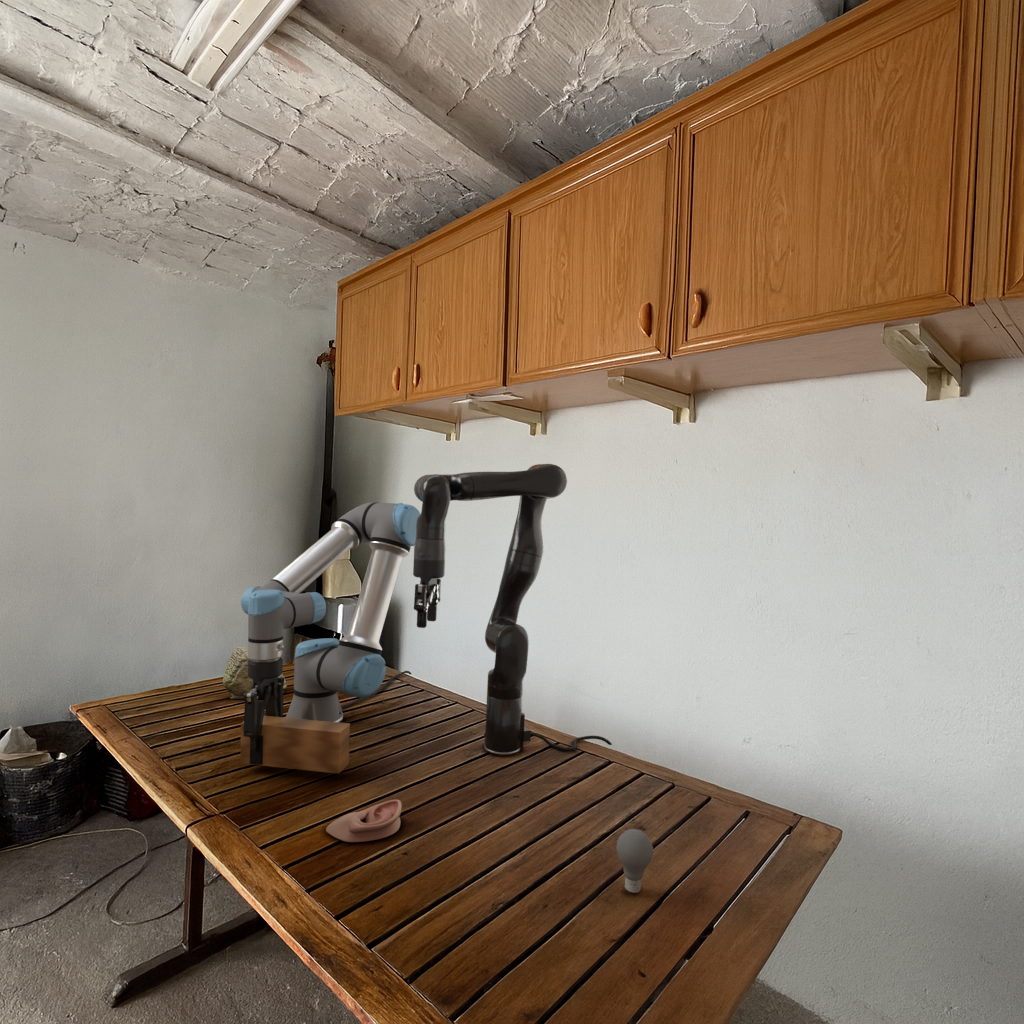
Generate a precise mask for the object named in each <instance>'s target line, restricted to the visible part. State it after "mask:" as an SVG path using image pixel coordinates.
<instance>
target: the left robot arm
mask: <svg viewBox="0 0 1024 1024" xmlns="http://www.w3.org/2000/svg"><path fill="white" fill-rule="evenodd" d="M420 514H421V512H420V510H418V508H417V507H416V506H414V505H411V504H407V503H403V502H398V503H393V502H378V501H376V502H375V501H372V502H366V503H362V504H361V505H358V506H356V507H354V508H353V509H351V510H350V511H347V512H346V513H345V514H343V515H342V516H340V517H339V518H338V519H337V520H336V521H334V522H333V523H332V524H331V527H330V528H331V529H330V530H329V531H328V532H326V533H325V534H324V535H323V536H322V537H320V538H319V539H318V540H317V541H316V542H314V543H313V544H312V545H311V546H310V547H309V548H307V549H306V550H304V552H302V553H301V554H300V555H298V557H297V558H295V559H294V560H293V561H292V562H290V563H289V564H288V565H286V566H285V567H284V568H283V569H281V571H279V573H277V574H275V576H274V577H272V578H270V580H269V581H268V582H266V583H265V584H264V585H262V586H259V585H258V586H252V587H248V588H247V589H246V590H245V591H244V592H243V594H242V596H241V599H240V606H241V609H242V611H243V612H244V614H246V615H247V648H248V658H249V661H248V670H247V674H248V676H249V677H250V678H251V679H252V680H253V682H252V686H251V691H250V692H249V693H244V698H243V701H244V702H243V703H244V714H243V721H244V734H243V735H244V736H245V737H250V764H249V765H252V764H256V765H255V766H262V765H261V764H263V735H261V730H262V723H263V717H264V716H274V717H284V692H283V685H284V677H285V676H284V677H278V676H280V675H281V674H282V675H283V669H284V667H283V665H284V659H283V658H282V656H283V653H284V648H285V645H284V633H285V631H284V630H287V629H290V628H295V627H300V626H306V625H312V624H314V623H318V622H320V621H322V620H323V618H324V617H325V616H326V613H327V612H326V611H327V604H326V600H325V598H324V596H323V595H322V594H321V593H319V592H316V591H312V592H311V591H310V592H309V591H306V592H305V593H303V591H304V590H306V588H307V587H308V586H310V585H311V584H312V583H313V582H314V581H315V580H316V579H317V578H319V577H320V576H321V575H322V574H323V573H324V572H325V571H326V570H328V569H329V568H330V567H331V566H332V565H334V563H336V562H337V561H338V560H339V559H340V558H342V557H343V556H344V555H345V554H346V553H347V552H348V551H349V550H355V549H357V548H358V547H359V546H360V545H362V544H365V543H368V545H369V547H370V549H371V554H370V557H369V560H368V564H367V568H366V570H365V574H364V578H363V581H362V584H361V587H360V591H359V595H358V598H357V601H356V604H355V608H354V612H353V614H352V619H351V622H350V625H349V629H348V632H347V634H346V635H345V636H343V637H342V638H340V639H338V638H335V637H333V638H332V637H329V638H313V639H308V640H304V641H302V642H299V643H298V644H297V645H296V646H295V652H294V653H295V654H294V657H293V659H294V660H293V662H294V663H293V665H294V667H293V695H292V696H293V697H292V699H291V702H290V704H289V708H288V711H287V713H286V715H285V718H296V719H307V720H317V721H328V722H339V723H344V713H343V709H344V708H346V707H349V706H353V705H354V704H356V703H359V702H361V701H364V700H367V699H369V698H371V697H373V696H375V695H377V694H379V693H380V692H381V691H382V690H384V689H385V688H386V687H387V686H388V685H389V684H390V683H391V682H392V681H393V680H395V679H396V678H398V677H400V676H402V675H405V674H408V675H412V672H411V671H409V670H404V671H401V672H400V673H401V674H400V673H397V674H395V675H394V676H392V677H390V678H389V680H387V681H386V682H385V683H384V684H383V685H382V683H383V681H384V679H385V675H386V672H387V666H386V661H385V659H384V657H382V653H383V647H382V645H381V644H380V639H381V636H382V631H383V628H384V625H385V621H386V618H387V614H388V611H389V606H390V603H391V600H392V596H393V593H394V588H395V585H396V581H397V578H398V574H399V571H400V567H401V563H402V560H403V559H404V558H405V557H407V556H409V555H410V552H411V547H414V546H415V540H416V522H417V518H418V516H419V515H420ZM381 685H382V686H381ZM380 686H381V687H380ZM338 694H342V695H345V696H347V697H352V698H357V699H355V700H353V701H350V702H348V703H346V704H345V703H344V704H341V702H340V699H339V695H338ZM342 708H343V709H342Z"/></svg>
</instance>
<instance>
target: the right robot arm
mask: <svg viewBox="0 0 1024 1024" xmlns="http://www.w3.org/2000/svg"><path fill="white" fill-rule="evenodd" d="M567 486H568V476H567V474H566V472H565V470H564V469H563V468H562V467H560V466H559V465H557V464H554V463H540V464H539V463H537V464H533V465H531V466H529V468H528V469H527V470H518V471H468V472H460V473H454V474H438V473H435V474H424V475H422V476H421V477H419V478H417V480H416V481H415V483H414V486H413V491H414V495H415V497H416V498H417V499H418V501H420V502H422V503H421V505H422V506H421V512H420V515H419V516H418V518H417V522H416V540H415V545H414V546H413V569H412V570H413V571H412V575H413V576H414V577H415V578H419V579H420V581H419V583H415V585H414V598H413V599H414V601H413V610H414V611H416V627H417V628H419V629H425V628H427V626H428V622H436V621H437V617H438V616H437V614H438V612H437V611H438V605H439V603H440V602H441V586H442V585H441V583H442V578H444V577H445V574H446V573H445V571H446V551H447V550H446V521H447V517H448V514H449V508H450V504H451V501H459V502H471V501H483V500H493V499H499V498H500V499H501V498H507V497H519V503H518V509H517V510H518V511H517V515H516V518H515V523H514V526H513V531H512V535H511V539H510V543H509V546H508V550H507V554H506V558H505V563H504V568H503V572H502V576H501V580H500V584H499V588H498V593H497V596H496V599H495V602H494V606H493V608H492V611H491V614H490V616H489V620H488V622H487V626H486V629H485V633H484V641H485V645H486V647H487V648H488V649H489V651H491V652H493V653H494V654H495V658H494V667H493V668H491V669H490V670H488V672H487V682H486V683H487V684H486V707H485V708H486V710H485V730H484V733H483V738H484V744H483V749H484V751H485V752H487V753H488V754H491V755H494V756H500V757H501V756H513V755H516V754H519V753H520V752H522V751H524V747H525V745H524V744H525V743H527V742H531V738H532V737H536V738H538V739H541V740H542V741H543V742H545V744H547V745H548V746H550V747H552V748H554V749H556V750H559V751H564V752H572V751H575V750H576V749H577V747H578V746H577V742H580V741H585V740H599V741H602V742H604V743H606V744H607V745H608V746H613V743H612V742H611V741H610V740H609V739H608V738H605V737H603V736H600V735H583V736H579V737H576V738H573V740H572V746H571V747H565V746H561V745H557V744H555V743H553V742H551V741H550V740H549V739H548V738H546V737H545V736H544V735H542V734H539V733H536V732H532V731H531V729H530V728H528V727H527V726H525V725H526V724H525V723H526V722H525V721H526V715H525V712H523V697H524V696H523V693H524V678H525V676H526V674H527V671H528V662H529V661H528V660H529V651H530V650H529V649H530V638H529V633H528V631H527V629H526V628H525V627H524V626H523V625H521V624H519V623H518V619H519V614H520V610H521V605H522V604H523V601H524V599H525V597H526V595H528V593H529V592H530V590H531V588H532V587H533V585H534V584H535V582H536V580H537V578H538V576H539V573H540V570H541V566H542V562H543V557H544V552H545V539H544V533H543V523H542V522H543V514H544V511H545V506H546V503H547V500H552V499H556V498H558V497H559V496H561V495H562V494H563V493H565V490H566V489H567ZM531 736H532V737H531Z"/></svg>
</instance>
